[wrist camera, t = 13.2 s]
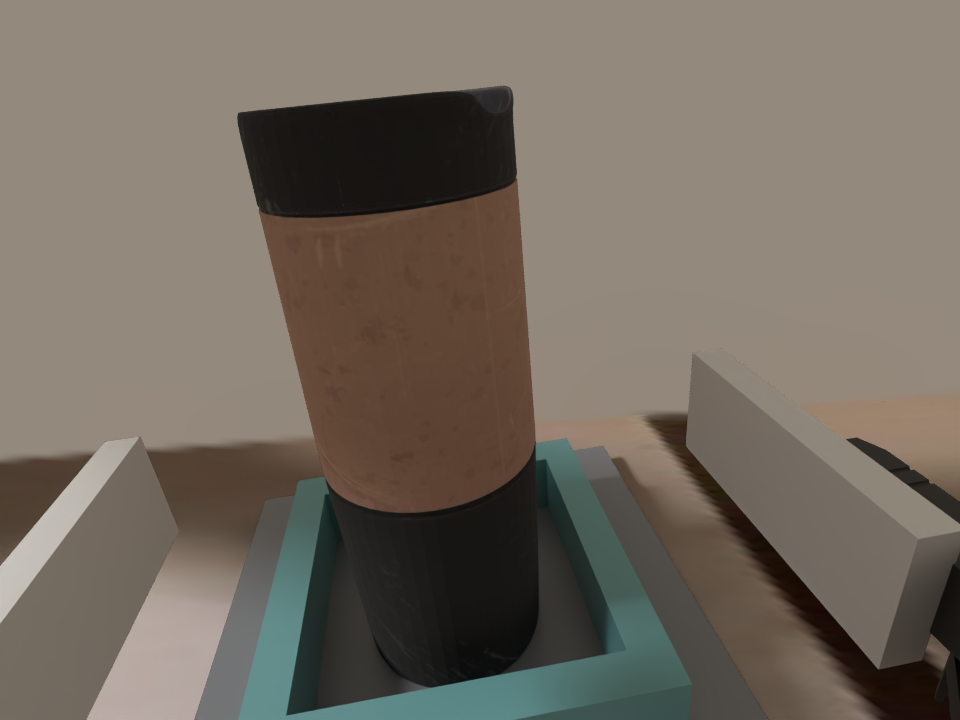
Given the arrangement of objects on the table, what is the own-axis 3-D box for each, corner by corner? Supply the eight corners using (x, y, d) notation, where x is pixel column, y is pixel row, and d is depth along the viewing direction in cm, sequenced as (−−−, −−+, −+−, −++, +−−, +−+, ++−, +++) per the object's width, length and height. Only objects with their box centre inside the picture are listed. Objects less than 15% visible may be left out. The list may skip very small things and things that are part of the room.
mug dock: (119, 1012, 15) (56, 942, 13) (269, 513, 33) (251, 456, 31) (829, 849, 17) (855, 768, 15) (602, 459, 35) (602, 402, 33)
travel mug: (351, 580, 26) (231, 113, 18) (502, 527, 29) (459, 90, 20) (389, 733, 20) (228, 112, 11) (580, 649, 22) (566, 78, 14)
